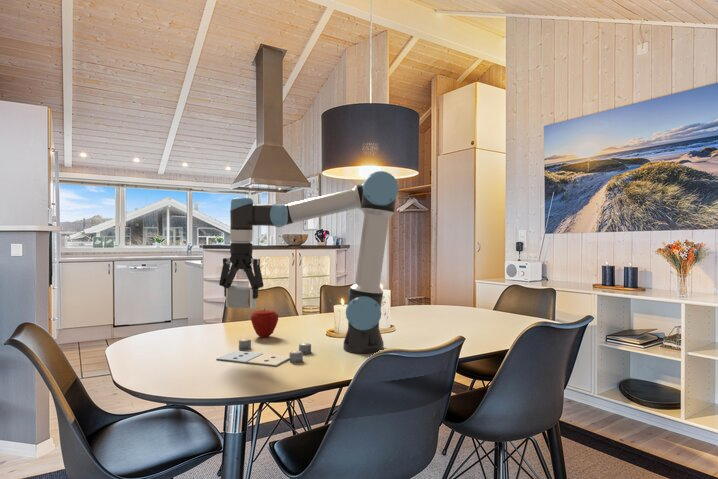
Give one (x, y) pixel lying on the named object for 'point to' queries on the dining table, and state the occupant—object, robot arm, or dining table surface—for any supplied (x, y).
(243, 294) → the grey cylinder
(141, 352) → the dining table surface
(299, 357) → the tealight
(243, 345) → the tealight
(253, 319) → the apple
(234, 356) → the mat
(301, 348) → the tealight
